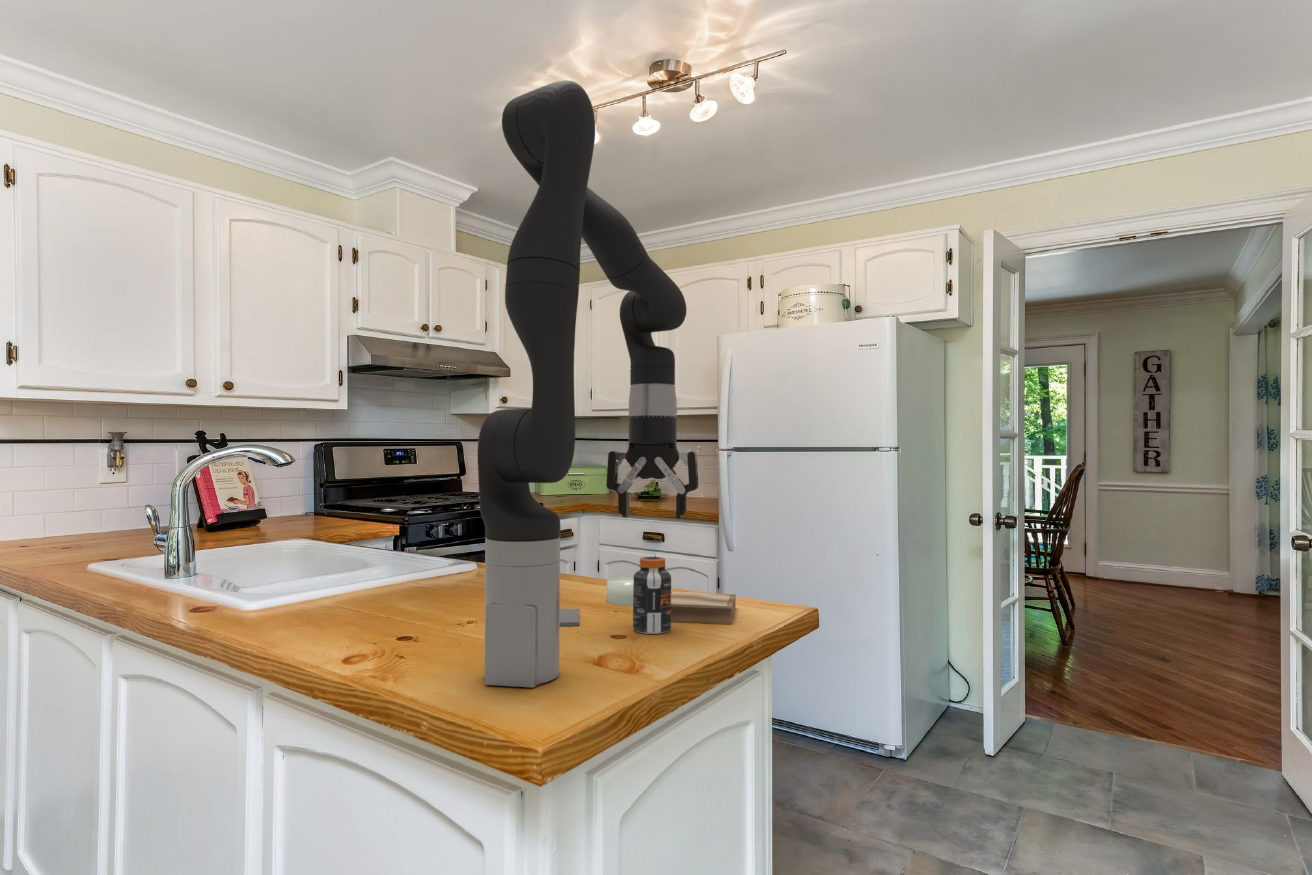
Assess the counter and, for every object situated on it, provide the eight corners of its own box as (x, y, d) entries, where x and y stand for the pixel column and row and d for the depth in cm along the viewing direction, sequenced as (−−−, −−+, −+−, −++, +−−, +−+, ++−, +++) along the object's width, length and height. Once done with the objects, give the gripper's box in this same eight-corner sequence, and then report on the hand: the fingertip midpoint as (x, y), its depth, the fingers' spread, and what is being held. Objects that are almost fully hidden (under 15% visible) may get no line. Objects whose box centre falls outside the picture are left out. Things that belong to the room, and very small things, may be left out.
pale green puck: (645, 607, 134) (645, 584, 134) (602, 605, 135) (602, 583, 135) (653, 598, 142) (653, 577, 142) (612, 596, 143) (612, 575, 143)
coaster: (579, 625, 119) (579, 622, 119) (515, 627, 118) (515, 623, 118) (579, 612, 129) (579, 608, 129) (520, 613, 128) (520, 609, 128)
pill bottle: (667, 635, 113) (667, 561, 113) (629, 633, 114) (629, 559, 114) (674, 626, 119) (674, 555, 119) (637, 624, 120) (638, 554, 120)
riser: (731, 624, 120) (731, 607, 120) (658, 621, 122) (658, 604, 122) (735, 608, 132) (735, 593, 132) (668, 605, 134) (668, 590, 134)
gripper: (602, 413, 114) (602, 519, 114) (695, 413, 112) (695, 521, 112) (613, 415, 122) (613, 514, 121) (700, 415, 119) (700, 516, 119)
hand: (652, 517), depth 117 cm, fingers open, 8 cm apart
